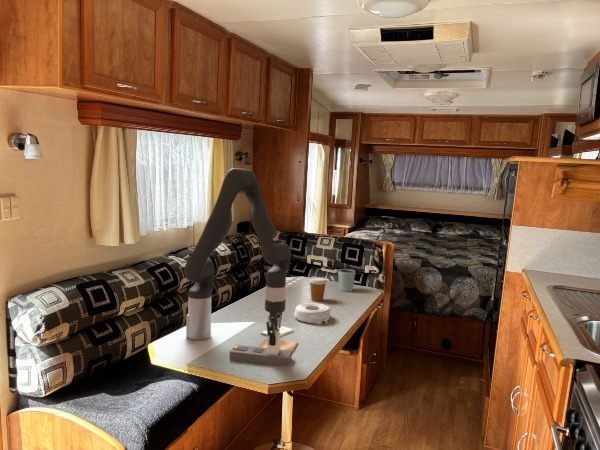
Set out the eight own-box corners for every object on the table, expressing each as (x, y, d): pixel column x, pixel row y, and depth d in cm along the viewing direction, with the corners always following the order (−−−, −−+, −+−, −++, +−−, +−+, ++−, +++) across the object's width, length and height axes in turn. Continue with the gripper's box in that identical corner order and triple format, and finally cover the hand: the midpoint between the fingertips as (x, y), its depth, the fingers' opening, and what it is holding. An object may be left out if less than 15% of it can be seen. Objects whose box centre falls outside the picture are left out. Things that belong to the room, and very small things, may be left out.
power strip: (229, 359, 170) (229, 349, 170) (235, 352, 177) (236, 343, 177) (287, 366, 166) (287, 356, 166) (291, 358, 173) (291, 349, 172)
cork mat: (257, 348, 181) (257, 347, 181) (264, 339, 191) (264, 338, 191) (292, 352, 178) (292, 351, 178) (297, 343, 188) (297, 342, 188)
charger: (266, 355, 169) (267, 328, 168) (269, 351, 173) (270, 325, 171) (277, 356, 168) (278, 330, 167) (279, 352, 172) (280, 326, 171)
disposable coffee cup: (326, 303, 248) (327, 281, 247) (308, 302, 248) (309, 280, 247) (325, 298, 258) (326, 277, 256) (308, 297, 258) (309, 276, 256)
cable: (327, 326, 211) (327, 313, 211) (290, 322, 215) (290, 310, 214) (332, 315, 228) (332, 303, 228) (297, 311, 232) (298, 300, 231)
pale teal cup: (335, 288, 280) (335, 269, 279) (350, 287, 283) (351, 268, 282) (341, 292, 270) (342, 272, 269) (357, 292, 273) (358, 272, 272)
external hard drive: (260, 335, 198) (279, 328, 207) (274, 340, 193) (293, 332, 202) (260, 331, 197) (279, 324, 207) (274, 336, 192) (293, 329, 202)
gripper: (270, 291, 176) (269, 335, 178) (259, 302, 162) (258, 349, 164) (289, 293, 174) (288, 337, 176) (280, 304, 160) (278, 351, 162)
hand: (273, 342), depth 170 cm, fingers closed on charger, 3 cm apart
